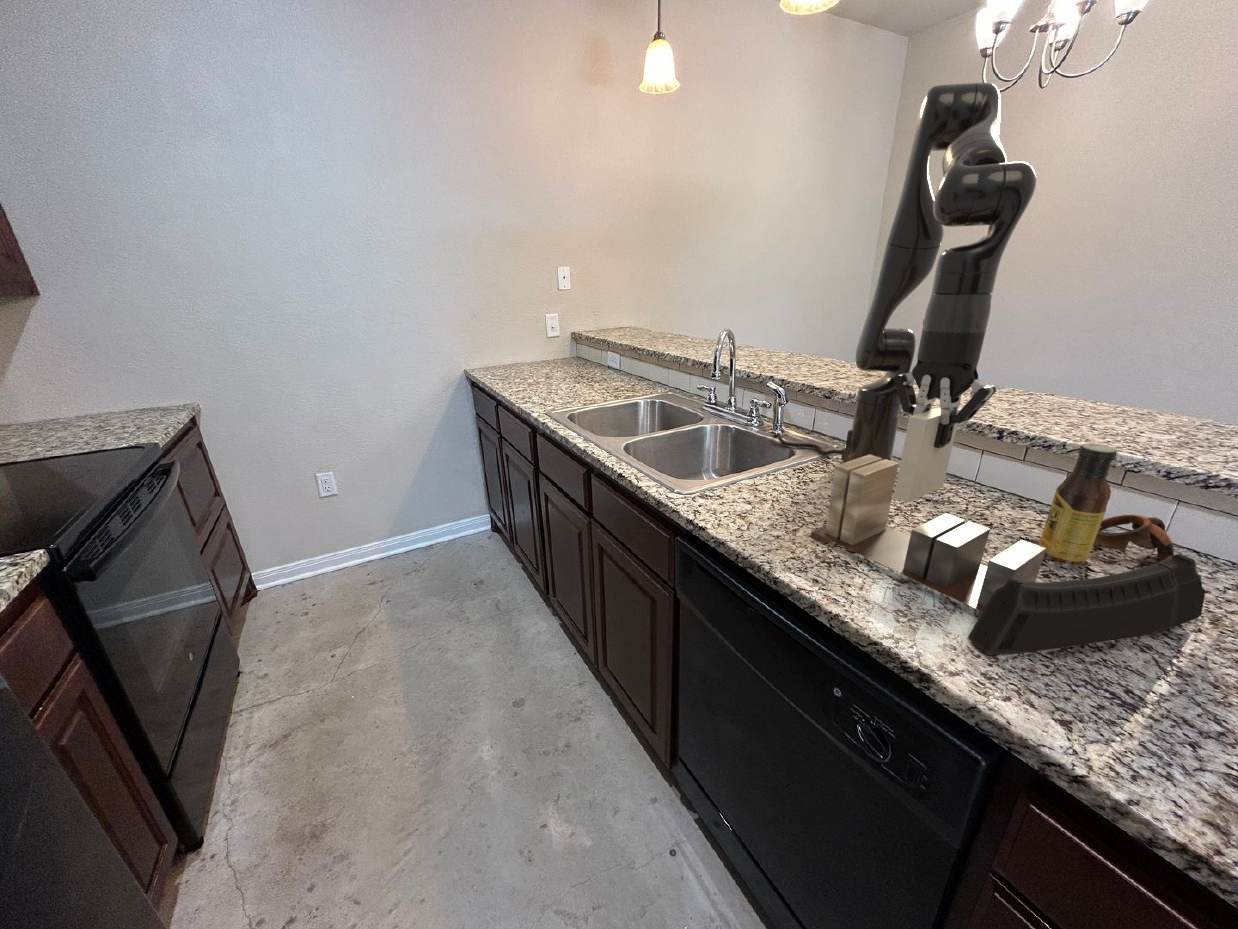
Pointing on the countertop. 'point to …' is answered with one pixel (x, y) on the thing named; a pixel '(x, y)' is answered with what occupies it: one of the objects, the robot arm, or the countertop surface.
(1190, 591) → the magazine
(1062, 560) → the sauce bottle
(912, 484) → the cream book
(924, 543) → the book board
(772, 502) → the countertop surface
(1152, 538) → the rusty ring bracket
